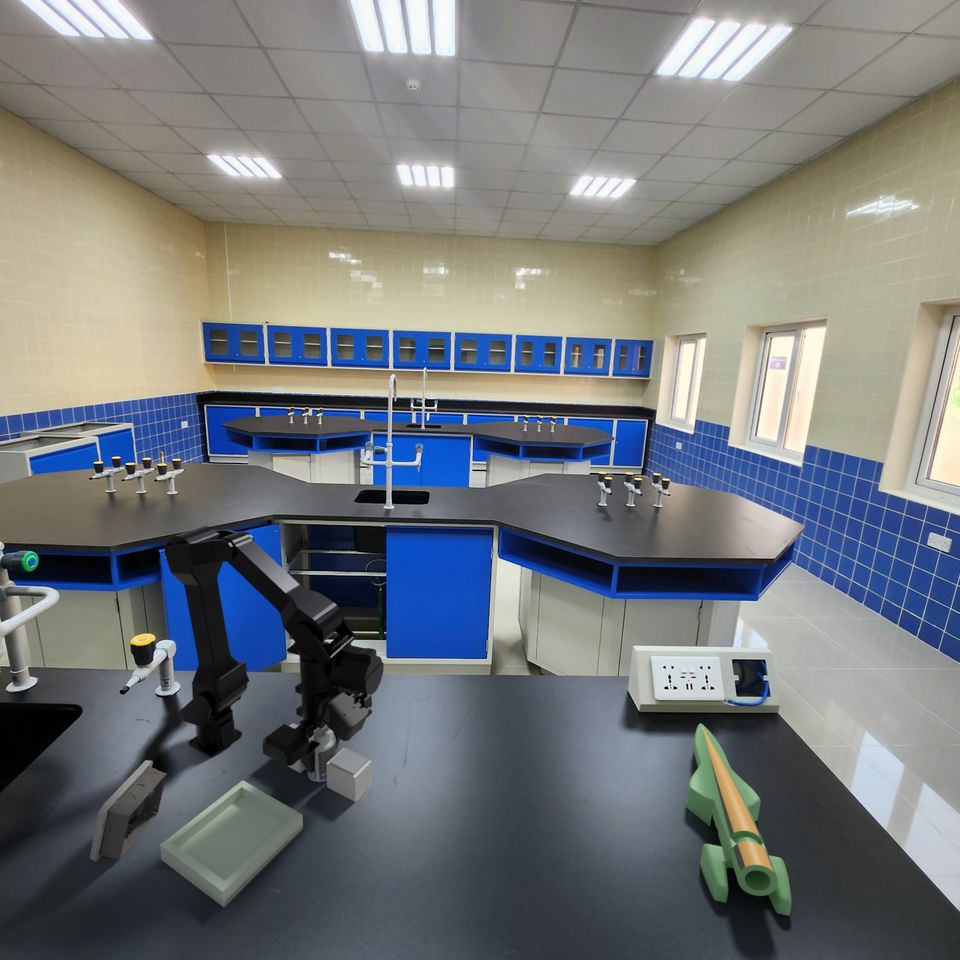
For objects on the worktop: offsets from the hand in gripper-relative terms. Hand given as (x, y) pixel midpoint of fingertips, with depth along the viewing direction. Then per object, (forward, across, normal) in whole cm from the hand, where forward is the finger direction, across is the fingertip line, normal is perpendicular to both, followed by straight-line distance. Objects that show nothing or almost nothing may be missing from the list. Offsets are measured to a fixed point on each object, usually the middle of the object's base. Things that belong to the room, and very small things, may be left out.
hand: (322, 761), depth 86 cm
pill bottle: (+2, 0, 0) cm, 2 cm away
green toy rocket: (+2, +26, -60) cm, 65 cm away
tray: (+2, -16, +1) cm, 16 cm away
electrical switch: (+2, -22, +15) cm, 27 cm away
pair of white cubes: (+2, 0, 0) cm, 2 cm away
